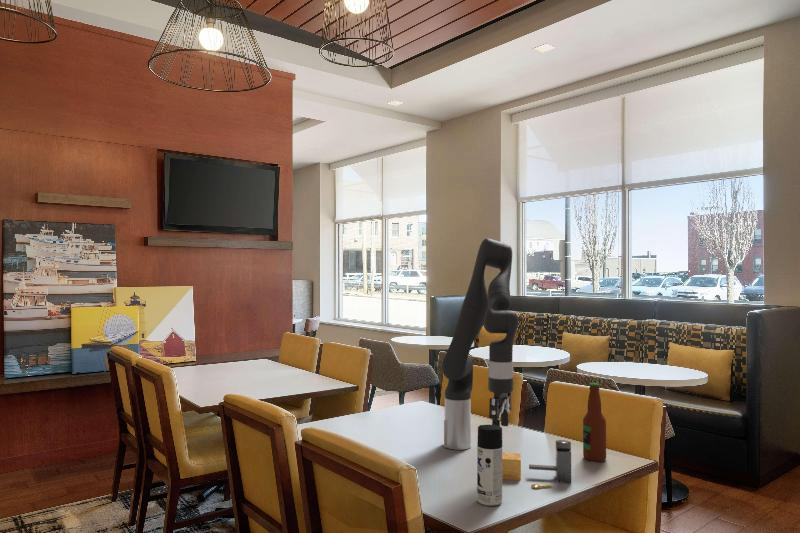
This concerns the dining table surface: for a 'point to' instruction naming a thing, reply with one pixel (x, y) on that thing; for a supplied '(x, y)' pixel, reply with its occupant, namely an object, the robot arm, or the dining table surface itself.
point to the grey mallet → (560, 462)
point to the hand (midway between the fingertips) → (500, 428)
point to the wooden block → (511, 466)
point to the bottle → (594, 428)
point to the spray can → (489, 465)
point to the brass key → (541, 486)
